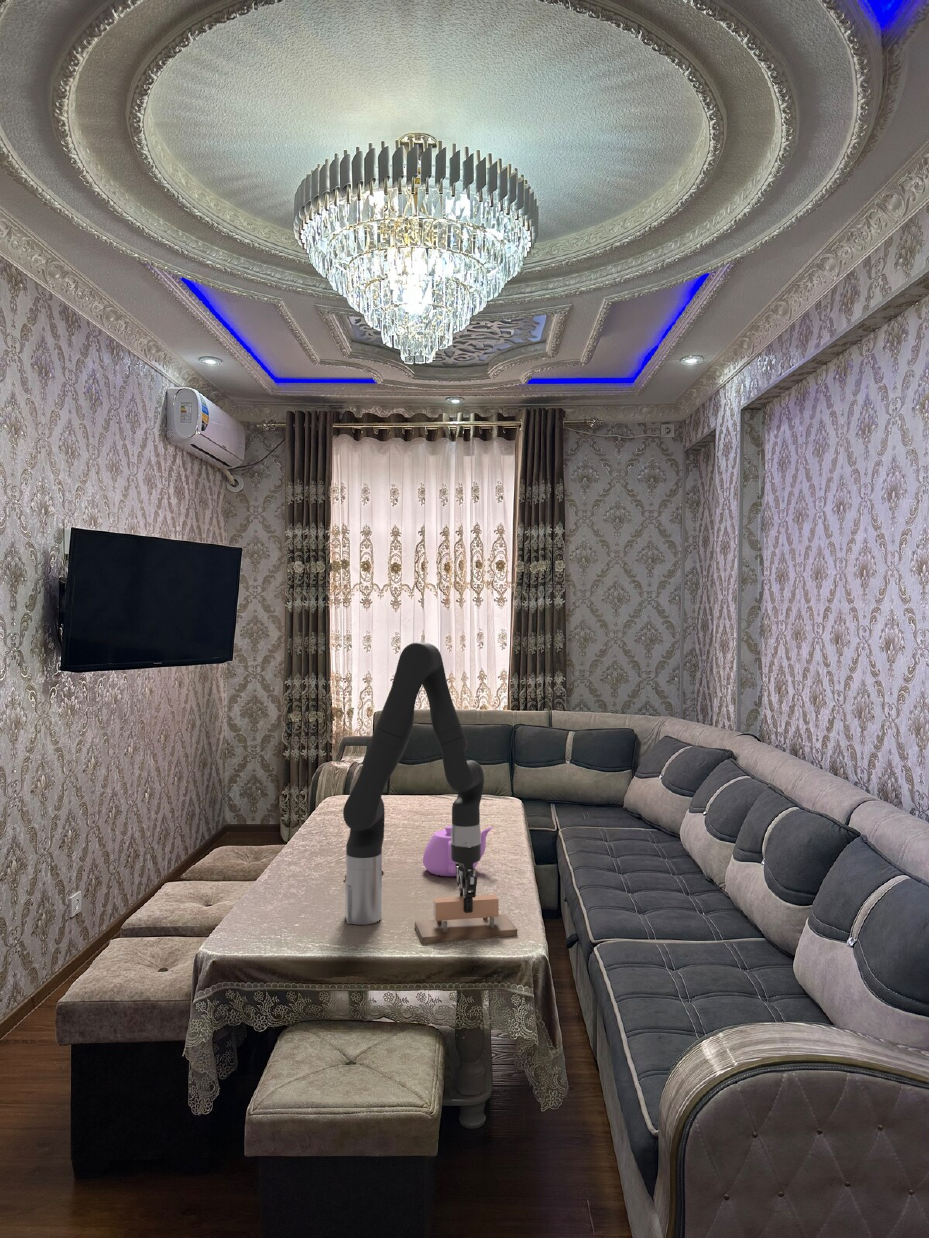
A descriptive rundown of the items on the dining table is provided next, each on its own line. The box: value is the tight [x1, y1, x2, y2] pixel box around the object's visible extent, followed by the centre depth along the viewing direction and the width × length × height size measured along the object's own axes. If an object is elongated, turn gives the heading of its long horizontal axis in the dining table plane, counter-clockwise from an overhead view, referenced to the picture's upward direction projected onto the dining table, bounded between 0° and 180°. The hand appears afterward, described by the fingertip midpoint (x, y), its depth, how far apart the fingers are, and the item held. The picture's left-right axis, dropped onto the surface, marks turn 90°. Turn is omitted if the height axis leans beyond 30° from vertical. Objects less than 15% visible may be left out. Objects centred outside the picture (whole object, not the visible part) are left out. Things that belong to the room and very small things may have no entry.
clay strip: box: [433, 894, 500, 921], centre depth 213 cm, size 16×4×4 cm, turn 100°
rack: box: [414, 913, 518, 944], centre depth 213 cm, size 24×11×4 cm, turn 103°
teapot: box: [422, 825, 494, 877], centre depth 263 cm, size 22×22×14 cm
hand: (466, 908), depth 213 cm, fingers closed on clay strip, 3 cm apart
